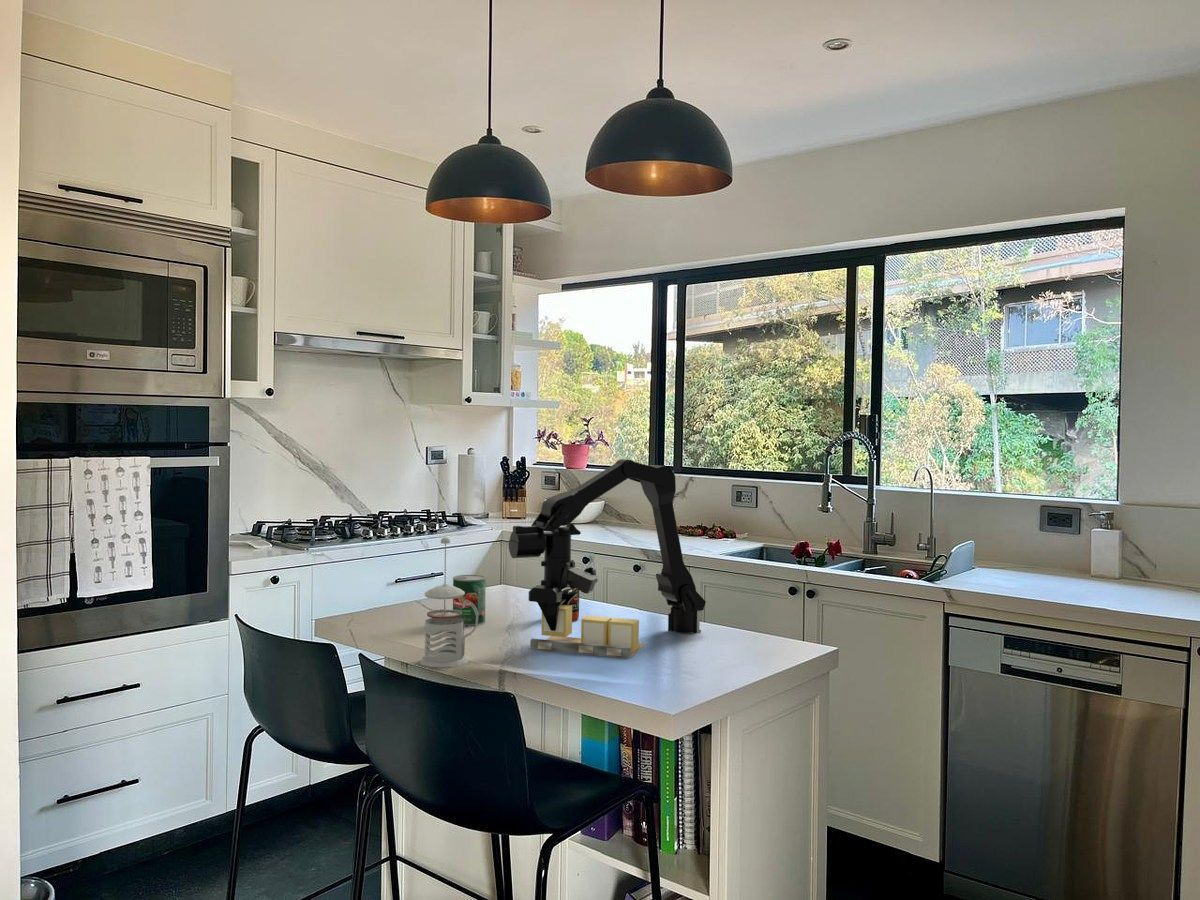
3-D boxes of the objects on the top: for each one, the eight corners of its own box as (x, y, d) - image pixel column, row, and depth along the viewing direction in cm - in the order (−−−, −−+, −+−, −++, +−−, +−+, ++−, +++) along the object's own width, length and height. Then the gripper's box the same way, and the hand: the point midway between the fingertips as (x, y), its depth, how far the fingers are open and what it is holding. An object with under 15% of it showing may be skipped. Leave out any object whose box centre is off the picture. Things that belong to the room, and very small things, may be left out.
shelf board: (645, 648, 191) (645, 634, 191) (629, 663, 178) (629, 648, 178) (552, 640, 197) (552, 626, 197) (529, 654, 185) (530, 639, 185)
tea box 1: (611, 645, 189) (611, 617, 189) (605, 649, 185) (606, 621, 185) (587, 643, 191) (587, 615, 191) (580, 647, 187) (581, 619, 187)
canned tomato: (485, 618, 219) (486, 574, 219) (485, 625, 211) (485, 579, 211) (453, 619, 218) (453, 574, 218) (451, 626, 210) (452, 580, 210)
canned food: (566, 623, 214) (566, 578, 214) (541, 619, 219) (541, 574, 219) (585, 618, 221) (586, 574, 220) (560, 614, 225) (561, 571, 225)
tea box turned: (541, 635, 189) (541, 607, 189) (548, 631, 193) (548, 603, 193) (565, 637, 188) (565, 609, 188) (572, 633, 192) (572, 605, 192)
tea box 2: (638, 647, 187) (639, 619, 187) (633, 652, 183) (633, 623, 183) (613, 645, 189) (614, 617, 189) (608, 650, 185) (608, 621, 185)
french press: (424, 654, 183) (425, 534, 183) (480, 655, 183) (482, 534, 183) (414, 667, 174) (415, 540, 173) (473, 668, 173) (475, 540, 173)
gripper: (579, 564, 179) (578, 641, 179) (606, 552, 197) (605, 622, 197) (527, 561, 182) (527, 636, 183) (559, 549, 200) (558, 618, 200)
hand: (556, 628), depth 191 cm, fingers open, 4 cm apart
